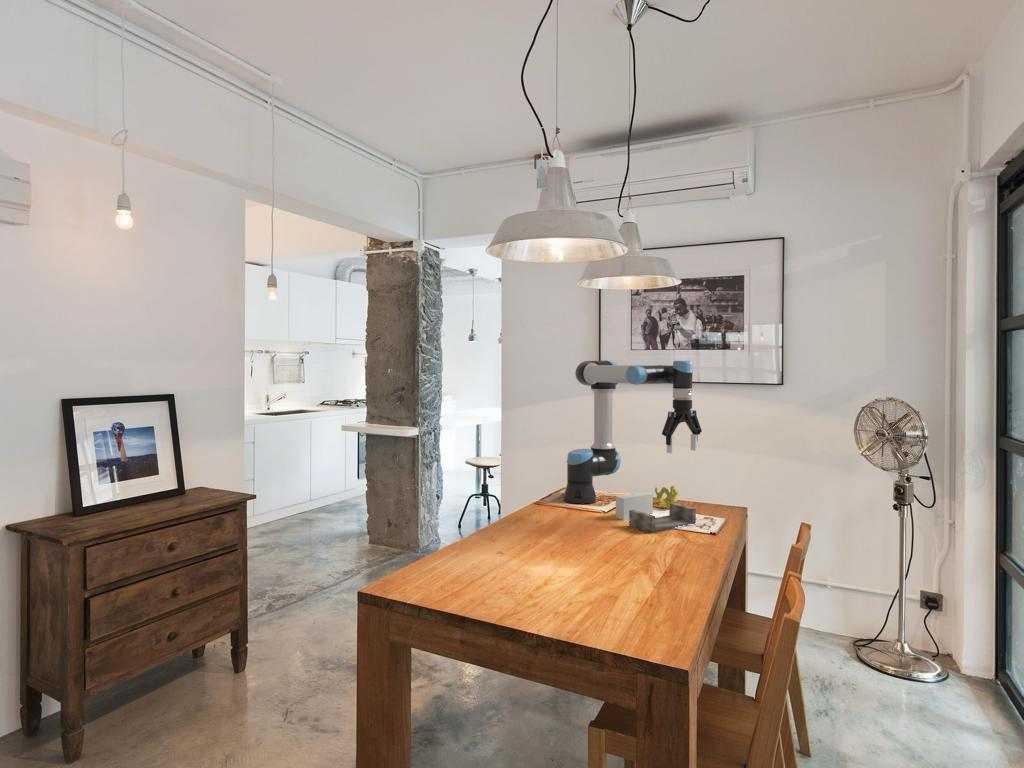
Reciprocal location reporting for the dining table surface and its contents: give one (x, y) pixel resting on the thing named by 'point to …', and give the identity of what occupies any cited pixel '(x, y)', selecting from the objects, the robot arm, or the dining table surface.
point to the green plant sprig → (670, 496)
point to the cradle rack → (663, 519)
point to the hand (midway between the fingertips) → (681, 451)
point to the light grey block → (633, 504)
